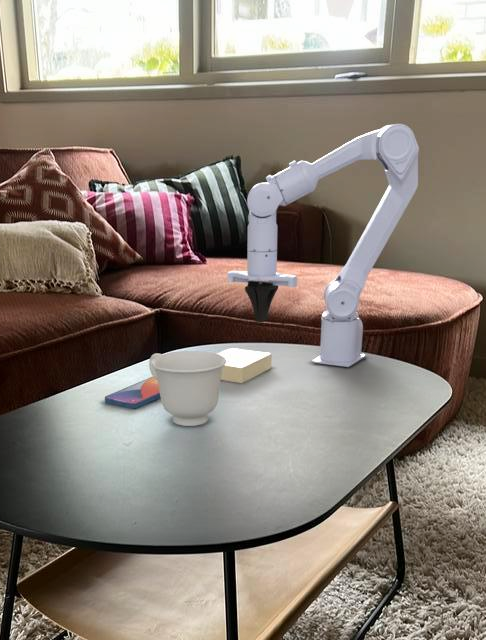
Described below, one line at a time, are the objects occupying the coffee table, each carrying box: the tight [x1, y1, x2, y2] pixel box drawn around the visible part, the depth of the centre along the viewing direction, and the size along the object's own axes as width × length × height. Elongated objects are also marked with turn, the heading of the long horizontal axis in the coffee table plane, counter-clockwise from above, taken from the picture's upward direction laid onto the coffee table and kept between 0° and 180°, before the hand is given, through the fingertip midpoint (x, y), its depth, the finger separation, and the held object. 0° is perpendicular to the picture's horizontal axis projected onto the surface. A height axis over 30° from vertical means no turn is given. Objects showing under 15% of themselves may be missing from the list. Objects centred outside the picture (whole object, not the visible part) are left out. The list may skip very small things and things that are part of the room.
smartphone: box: [104, 376, 161, 409], centre depth 137 cm, size 7×15×1 cm, turn 145°
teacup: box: [148, 350, 227, 427], centre depth 123 cm, size 12×15×10 cm
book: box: [216, 347, 272, 384], centre depth 149 cm, size 12×9×3 cm
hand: (261, 321), depth 153 cm, fingers closed
